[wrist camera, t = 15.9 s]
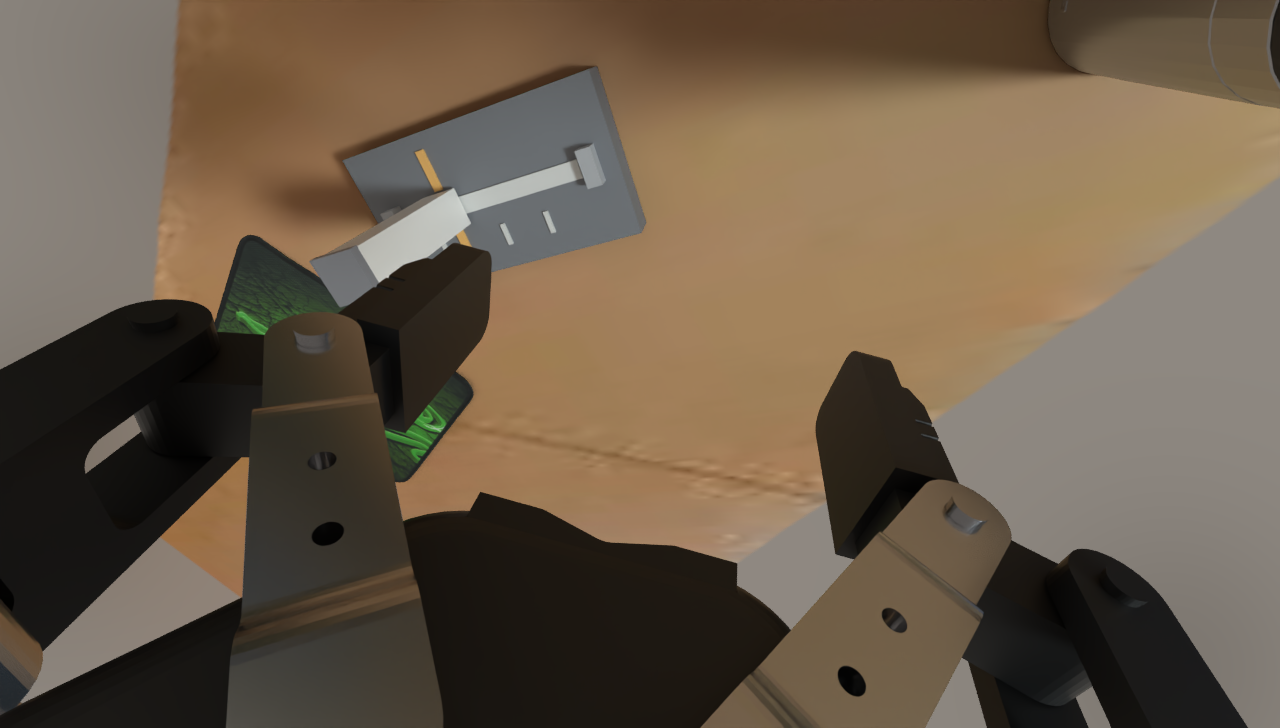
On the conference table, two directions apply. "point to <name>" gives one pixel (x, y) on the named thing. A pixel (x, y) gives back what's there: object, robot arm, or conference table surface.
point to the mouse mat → (284, 288)
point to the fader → (391, 246)
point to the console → (516, 173)
